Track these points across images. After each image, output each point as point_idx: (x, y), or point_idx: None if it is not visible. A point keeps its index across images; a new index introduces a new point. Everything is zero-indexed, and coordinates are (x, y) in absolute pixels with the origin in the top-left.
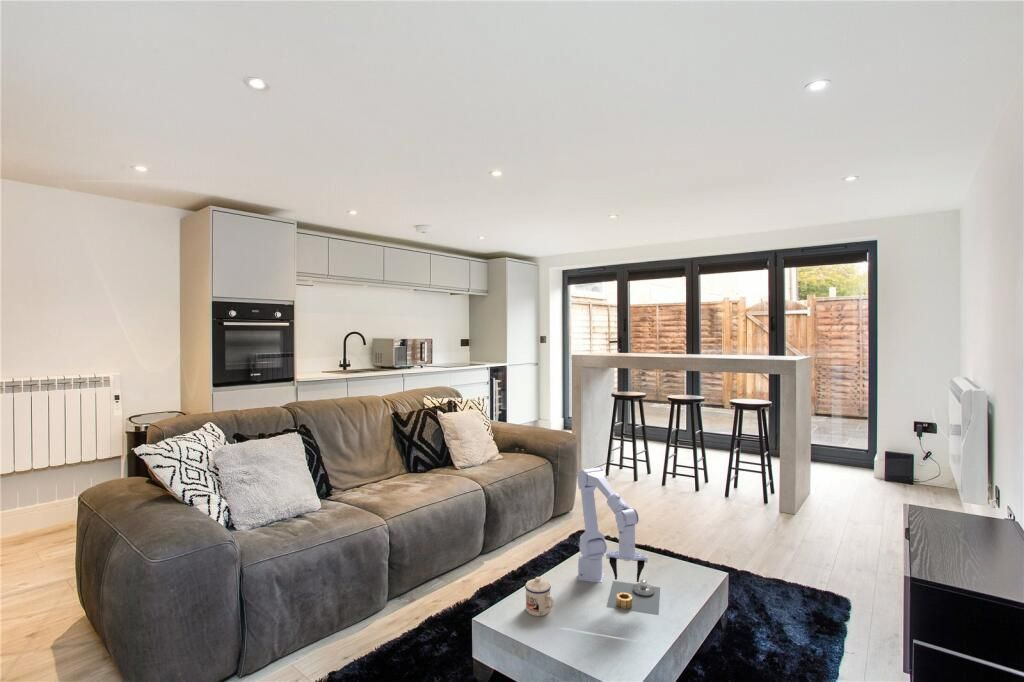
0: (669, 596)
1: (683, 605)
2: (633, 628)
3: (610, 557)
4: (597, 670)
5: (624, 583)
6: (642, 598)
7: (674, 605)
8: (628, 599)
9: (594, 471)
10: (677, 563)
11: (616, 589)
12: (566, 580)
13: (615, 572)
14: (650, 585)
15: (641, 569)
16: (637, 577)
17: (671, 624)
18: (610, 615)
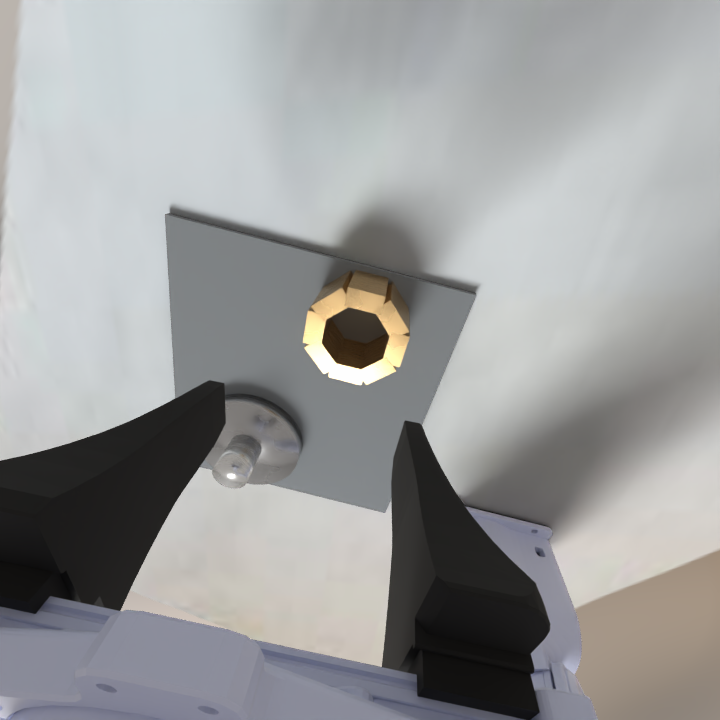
0: (136, 401)
1: (61, 328)
2: (335, 13)
3: (513, 716)
4: None
5: (335, 492)
6: (257, 380)
7: (102, 327)
8: (331, 303)
9: None
10: (137, 583)
11: (380, 453)
12: (611, 529)
13: (424, 470)
14: (213, 465)
15: (57, 452)
16: (191, 402)
17: (82, 110)
18: (471, 203)
